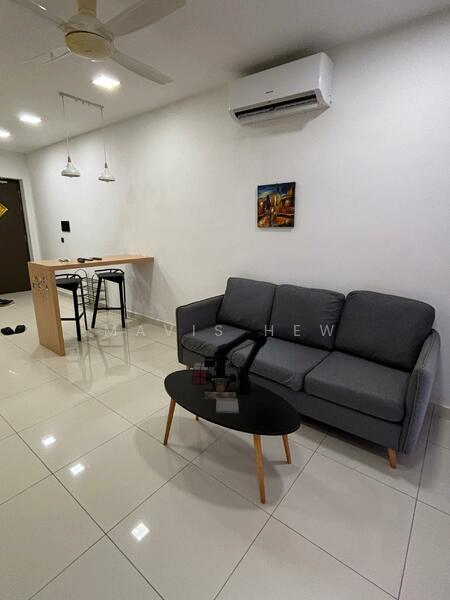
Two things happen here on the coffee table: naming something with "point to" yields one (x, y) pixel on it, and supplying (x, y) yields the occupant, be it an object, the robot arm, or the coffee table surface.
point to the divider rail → (220, 395)
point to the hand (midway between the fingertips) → (220, 390)
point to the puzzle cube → (199, 373)
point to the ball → (220, 387)
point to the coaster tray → (227, 405)
